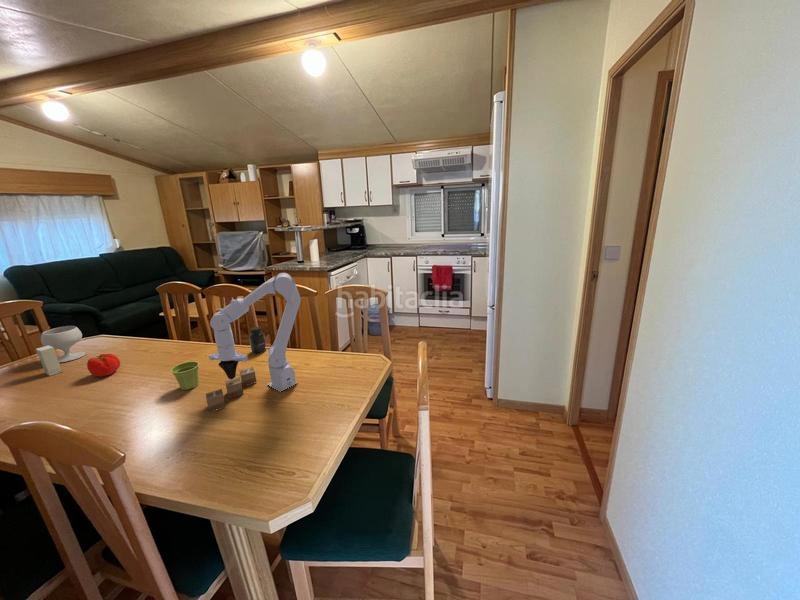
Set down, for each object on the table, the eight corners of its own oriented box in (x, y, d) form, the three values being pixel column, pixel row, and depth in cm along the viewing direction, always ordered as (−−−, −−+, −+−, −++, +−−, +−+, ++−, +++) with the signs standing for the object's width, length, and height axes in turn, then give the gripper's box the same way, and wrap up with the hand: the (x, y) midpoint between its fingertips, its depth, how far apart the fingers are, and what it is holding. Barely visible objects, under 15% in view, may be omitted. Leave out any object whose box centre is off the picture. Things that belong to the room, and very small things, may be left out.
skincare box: (63, 372, 144) (54, 347, 141) (49, 376, 141) (39, 351, 137) (58, 369, 147) (49, 344, 144) (44, 373, 144) (35, 348, 140)
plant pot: (190, 393, 122) (185, 373, 120) (169, 391, 124) (164, 371, 122) (208, 381, 131) (204, 361, 129) (189, 379, 133) (184, 360, 131)
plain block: (243, 394, 120) (241, 382, 119) (228, 398, 118) (226, 386, 117) (241, 388, 125) (239, 377, 123) (227, 392, 122) (225, 381, 121)
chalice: (61, 354, 163) (51, 327, 159) (94, 350, 167) (85, 323, 163) (41, 366, 150) (29, 337, 146) (77, 361, 154) (67, 332, 150)
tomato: (94, 382, 134) (87, 363, 131) (88, 375, 140) (82, 357, 138) (125, 372, 142) (120, 354, 139) (118, 365, 148) (113, 348, 146)
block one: (225, 407, 113) (222, 394, 111) (209, 412, 110) (206, 399, 109) (224, 400, 117) (221, 388, 115) (208, 405, 114) (205, 393, 113)
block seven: (256, 382, 129) (254, 371, 127) (243, 386, 126) (240, 375, 125) (254, 377, 133) (252, 366, 131) (241, 381, 130) (239, 370, 129)
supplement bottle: (263, 354, 155) (259, 330, 152) (249, 354, 155) (245, 331, 152) (268, 348, 161) (265, 325, 158) (255, 348, 162) (251, 326, 158)
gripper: (250, 340, 118) (256, 373, 122) (215, 339, 121) (222, 371, 125) (237, 348, 112) (244, 383, 115) (201, 346, 114) (209, 380, 118)
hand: (232, 377), depth 119 cm, fingers closed
